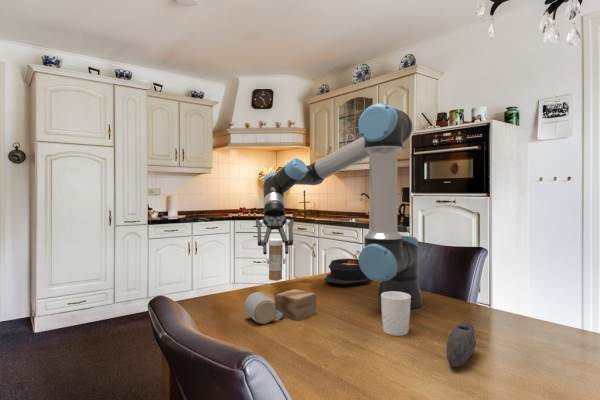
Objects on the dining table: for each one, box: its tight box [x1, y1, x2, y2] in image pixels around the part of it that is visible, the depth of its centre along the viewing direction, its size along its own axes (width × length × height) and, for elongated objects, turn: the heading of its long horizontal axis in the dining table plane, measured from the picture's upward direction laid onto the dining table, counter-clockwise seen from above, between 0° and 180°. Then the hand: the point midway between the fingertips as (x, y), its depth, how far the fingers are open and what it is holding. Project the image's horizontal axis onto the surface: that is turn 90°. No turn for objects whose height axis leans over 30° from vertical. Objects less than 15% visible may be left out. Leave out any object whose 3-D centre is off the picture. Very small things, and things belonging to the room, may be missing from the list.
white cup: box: [380, 291, 411, 337], centre depth 105 cm, size 8×8×10 cm
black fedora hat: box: [323, 258, 371, 285], centre depth 163 cm, size 25×19×8 cm
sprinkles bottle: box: [268, 237, 283, 282], centre depth 127 cm, size 5×5×14 cm
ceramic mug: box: [243, 291, 283, 325], centre depth 114 cm, size 11×8×8 cm
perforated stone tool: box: [445, 321, 477, 368], centre depth 87 cm, size 15×5×7 cm, turn 143°
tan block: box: [274, 288, 317, 322], centre depth 120 cm, size 9×9×6 cm
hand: (276, 261), depth 124 cm, fingers closed on sprinkles bottle, 4 cm apart
